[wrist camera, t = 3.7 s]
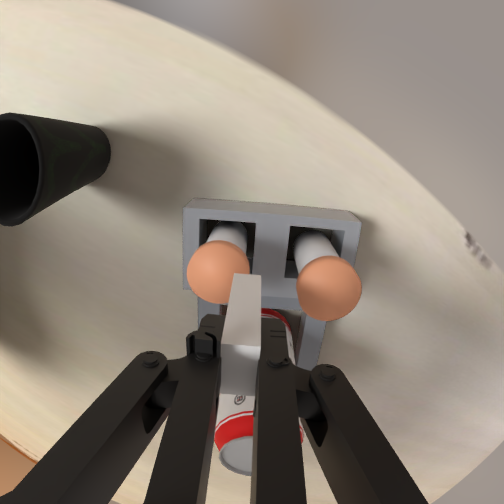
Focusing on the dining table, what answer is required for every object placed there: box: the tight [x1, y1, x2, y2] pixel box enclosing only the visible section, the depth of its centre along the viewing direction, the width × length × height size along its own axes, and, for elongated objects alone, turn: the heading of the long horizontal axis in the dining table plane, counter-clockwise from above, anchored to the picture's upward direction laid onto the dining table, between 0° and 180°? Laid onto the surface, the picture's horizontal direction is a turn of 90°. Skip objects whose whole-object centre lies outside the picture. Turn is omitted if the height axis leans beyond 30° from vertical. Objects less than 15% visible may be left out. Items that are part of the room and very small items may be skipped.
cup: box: [0, 113, 111, 226], centre depth 21 cm, size 8×8×12 cm
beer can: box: [214, 308, 304, 476], centre depth 25 cm, size 6×6×16 cm
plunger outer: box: [293, 230, 362, 321], centre depth 23 cm, size 4×4×8 cm
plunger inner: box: [187, 220, 250, 304], centre depth 24 cm, size 4×4×8 cm
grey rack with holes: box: [183, 198, 362, 371], centre depth 30 cm, size 14×19×4 cm
